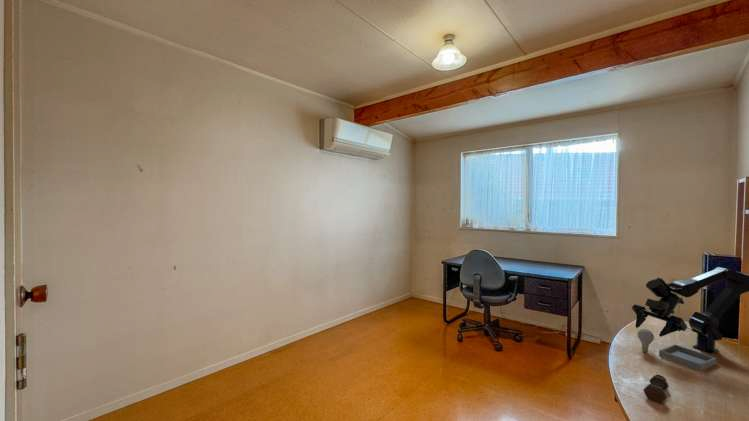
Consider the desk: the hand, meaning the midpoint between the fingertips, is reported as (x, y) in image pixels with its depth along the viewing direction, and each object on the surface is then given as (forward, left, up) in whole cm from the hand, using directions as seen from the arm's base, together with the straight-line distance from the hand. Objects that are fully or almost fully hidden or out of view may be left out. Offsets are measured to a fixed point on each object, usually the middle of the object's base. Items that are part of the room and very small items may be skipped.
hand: (647, 331), depth 139 cm
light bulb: (+1, 0, -9) cm, 9 cm away
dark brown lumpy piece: (+32, +17, -9) cm, 37 cm away
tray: (-7, +11, -9) cm, 16 cm away
